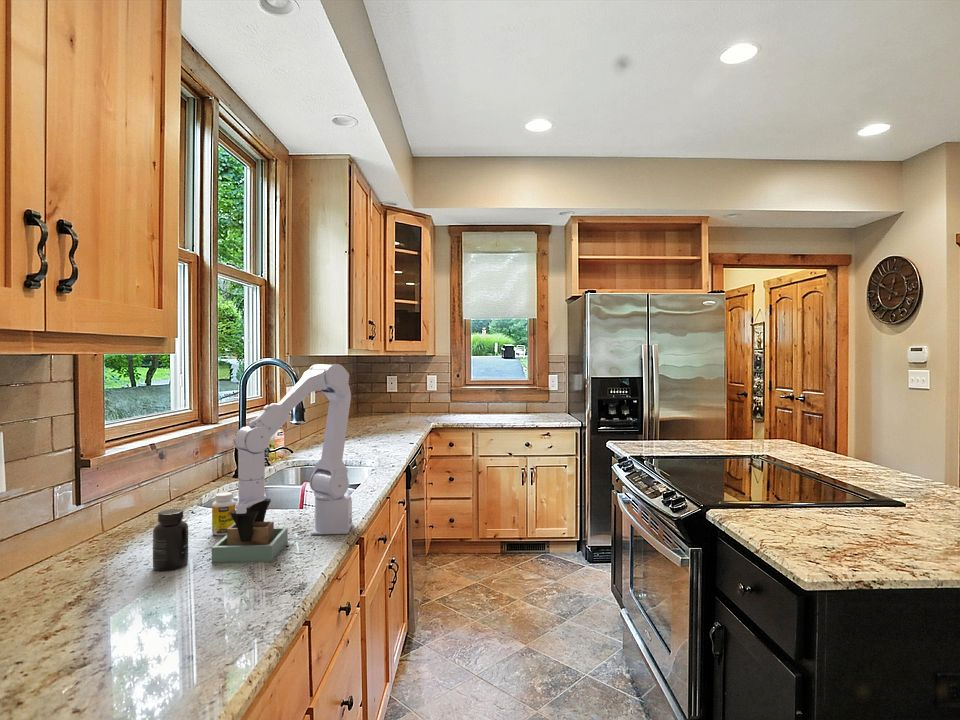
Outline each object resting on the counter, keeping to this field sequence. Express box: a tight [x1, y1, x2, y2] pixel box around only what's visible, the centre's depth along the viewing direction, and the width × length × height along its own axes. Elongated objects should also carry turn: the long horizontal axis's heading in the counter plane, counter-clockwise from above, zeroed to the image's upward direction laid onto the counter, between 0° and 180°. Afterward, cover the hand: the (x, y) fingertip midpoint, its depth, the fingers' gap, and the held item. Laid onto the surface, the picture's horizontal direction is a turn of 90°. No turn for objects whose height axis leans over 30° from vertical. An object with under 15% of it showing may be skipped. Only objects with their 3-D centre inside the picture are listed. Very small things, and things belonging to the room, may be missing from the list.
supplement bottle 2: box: [211, 491, 237, 537], centre depth 141 cm, size 6×6×10 cm
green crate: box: [211, 527, 289, 565], centre depth 127 cm, size 13×13×4 cm
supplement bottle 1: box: [152, 508, 189, 572], centre depth 119 cm, size 7×7×12 cm
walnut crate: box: [227, 521, 275, 546], centre depth 127 cm, size 9×5×6 cm, turn 95°
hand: (251, 535), depth 127 cm, fingers open, 7 cm apart
